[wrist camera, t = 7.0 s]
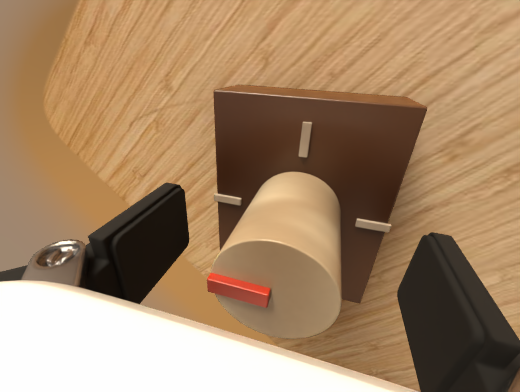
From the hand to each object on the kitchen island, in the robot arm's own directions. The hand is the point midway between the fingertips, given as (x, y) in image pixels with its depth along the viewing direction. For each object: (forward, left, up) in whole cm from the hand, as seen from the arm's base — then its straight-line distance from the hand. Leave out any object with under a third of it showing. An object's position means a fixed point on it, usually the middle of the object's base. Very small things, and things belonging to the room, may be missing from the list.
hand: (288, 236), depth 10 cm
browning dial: (0, 0, -2) cm, 2 cm away
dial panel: (0, 0, -5) cm, 5 cm away
